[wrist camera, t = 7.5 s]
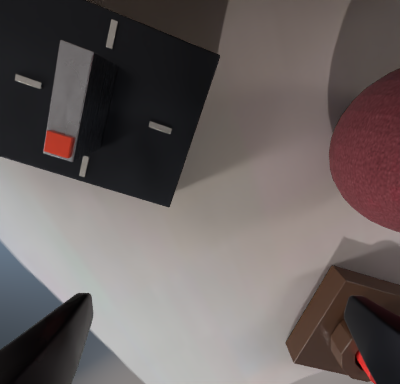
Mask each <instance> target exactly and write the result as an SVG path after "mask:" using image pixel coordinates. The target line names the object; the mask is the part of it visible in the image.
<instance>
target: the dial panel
mask: <svg viewBox="0 0 400 384" xmlns="http://www.w3.org/2000/svg"><path fill="white" fill-rule="evenodd" d="M60 40H63V41H66V42H69V43H71V44H74V45H77V46H79V47H82V48H85V49H87V50H90V51H93V52H95V53H96V54H98V55H100V56H102V57H103V58H105V59H107V60H109V61H110V62H112V63H114V64H116V65H117V66H118V70H117V75H116V79H115V84H114V88H113V93H112V97H111V102H110V106H109V111H108V115H107V120H106V124H105V129H104V133H103V138H102V142H101V147H100V149H98V150H96V151H94V152H92V153H90V154H88V155H86V156H84V157H82V158H80V159H78V160H76V161H74V162H70V161H67V160H64V159H60V158H57V157H54V156H51V155H47V154H44V153H43V149H44V143H45V136H46V130H47V123H48V117H49V110H50V103H51V97H52V90H53V84H54V77H55V71H56V64H57V58H58V51H59V44H60ZM219 58H220V55H218V54H216V53H213V52H211V51H208V50H206V49H203V48H201V47H198V46H196V45H194V44H191V43H189V42H186V41H184V40H181V39H179V38H176V37H174V36H172V35H169V34H167V33H164V32H162V31H159V30H157V29H154V28H152V27H149V26H147V25H145V24H142V23H140V22H137V21H135V20H132V19H130V18H127V17H125V16H122V15H120V14H118V13H115V12H113V11H110V10H108V9H105V8H103V7H100V6H98V5H96V4H93V3H91V2H88V1H86V0H0V157H4V158H7V159H10V160H14V161H17V162H20V163H24V164H27V165H30V166H33V167H37V168H40V169H43V170H47V171H50V172H53V173H57V174H60V175H63V176H67V177H70V178H73V179H76V180H80V181H83V182H86V183H90V184H93V185H96V186H100V187H103V188H106V189H110V190H113V191H116V192H119V193H123V194H126V195H129V196H133V197H136V198H139V199H143V200H146V201H149V202H153V203H156V204H159V205H162V206H166V207H170V204H171V201H172V198H173V195H174V192H175V190H176V187H177V184H178V181H179V178H180V175H181V172H182V169H183V166H184V163H185V160H186V157H187V154H188V151H189V148H190V145H191V142H192V139H193V136H194V133H195V130H196V127H197V124H198V121H199V118H200V115H201V112H202V109H203V106H204V103H205V100H206V97H207V94H208V91H209V88H210V85H211V82H212V79H213V76H214V73H215V70H216V67H217V64H218V61H219Z"/></svg>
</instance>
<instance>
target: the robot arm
mask: <svg viewBox="0 0 400 384" xmlns="http://www.w3.org/2000/svg"><path fill="white" fill-rule="evenodd" d="M92 319H93V306H92V297H91V294H89V293H78V294H76V295H74V296H73V297H72V298H70V299H69V300H67V301H66V302H65V303H63V304H62V305H61V306H59V307H58V308H57V309H55V310H54V311H52V312H51V313H50V314H48V315H47V316H46V317H44V318H43V319H42V320H40V321H39V322H37V323H36V324H35V325H33V326H32V327H31V328H29V329H28V330H26V331H25V332H24V333H22V334H21V335H20V336H18V337H17V338H16V339H14V340H13V341H11V342H10V343H9V344H7V345H6V346H5V347H3V348H2V349H1V350H0V384H71V383H72V380H73V378H74V376H75V373H76V371H77V368H78V365H79V362H80V359H81V355H82V352H83V349H84V346H85V342H86V339H87V336H88V332H89V329H90V326H91V323H92ZM344 319H345V322H346V324H347V326H348V328H349V331H350V333H351V335H352V337H353V339H354V341H355V343H356V345H357V348H358V350H359V352H360V354H361V356H362V358H363V360H364V362H365V364H366V366H367V368H368V370H369V372H370V374H371V375H372V377H373V379H374V381H375V382H376V384H400V316H398V315H396V314H394V313H393V312H391V311H389V310H387V309H385V308H384V307H382V306H380V305H378V304H377V303H375V302H373V301H371V300H369V299H368V298H366V297H364V296H361V295H352V296H350V297H349V298H348V301H347V304H346V308H345V311H344Z"/></svg>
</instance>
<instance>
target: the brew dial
mask: <svg viewBox="0 0 400 384" xmlns="http://www.w3.org/2000/svg"><path fill="white" fill-rule="evenodd" d="M117 70H118V66H117V65H116V64H114V63H112V62H110V61H109V60H107V59H105V58H103V57H102V56H100V55H98V54H96V53H95V52H93V51H90V50H87V49H85V48H82V47H79V46H77V45H74V44H71V43H69V42H66V41H63V40H60V44H59V51H58V58H57V64H56V71H55V77H54V84H53V90H52V97H51V103H50V110H49V117H48V123H47V130H46V136H45V143H44V149H43V153H44V154H47V155H51V156H54V157H57V158H60V159H64V160H67V161H70V162H74V161H76V160H78V159H80V158H82V157H84V156H86V155H88V154H90V153H92V152H94V151H96V150H98V149H100V147H101V142H102V138H103V133H104V129H105V124H106V120H107V115H108V111H109V106H110V102H111V97H112V93H113V88H114V84H115V79H116V75H117Z"/></svg>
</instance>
